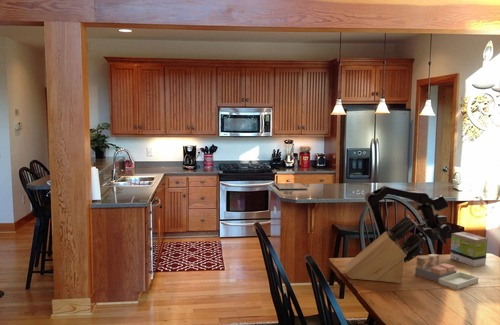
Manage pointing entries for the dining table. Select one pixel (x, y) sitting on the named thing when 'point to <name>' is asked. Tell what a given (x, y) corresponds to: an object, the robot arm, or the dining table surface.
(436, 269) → the tile near
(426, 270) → the board
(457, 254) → the tea box
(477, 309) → the dining table surface
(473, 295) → the dining table surface
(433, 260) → the strip
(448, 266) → the tile far
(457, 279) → the tray
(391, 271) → the knife block
